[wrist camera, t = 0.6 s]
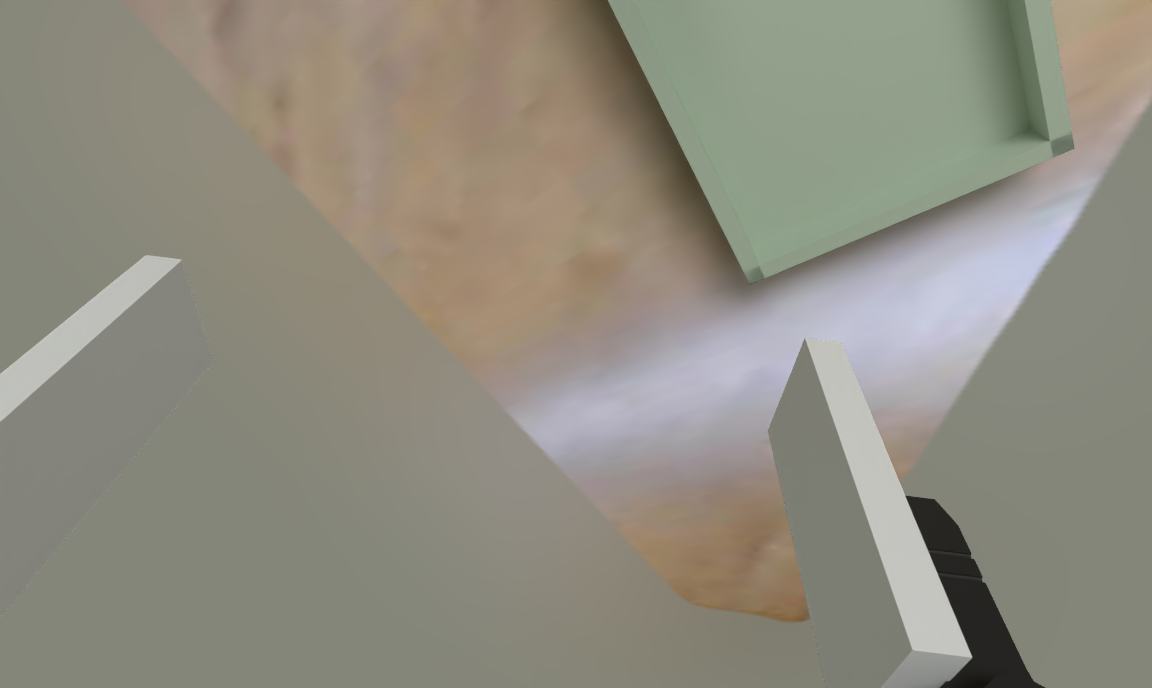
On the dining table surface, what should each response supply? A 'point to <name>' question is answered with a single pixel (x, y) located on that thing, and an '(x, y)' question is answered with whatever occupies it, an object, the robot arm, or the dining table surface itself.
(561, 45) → the dining table surface
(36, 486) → the robot arm
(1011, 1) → the tray
